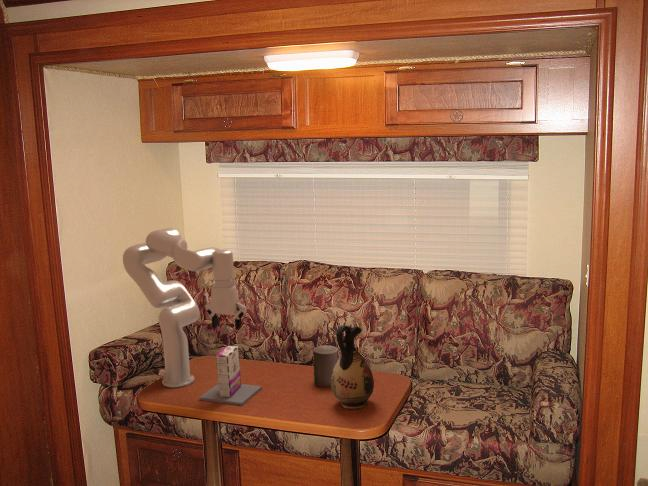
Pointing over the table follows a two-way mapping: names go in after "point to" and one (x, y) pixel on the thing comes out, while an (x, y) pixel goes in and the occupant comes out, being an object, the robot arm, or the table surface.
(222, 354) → the candy bar box
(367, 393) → the ceramic jug
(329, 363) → the pillar candle
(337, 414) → the table surface
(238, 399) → the rubber mat
